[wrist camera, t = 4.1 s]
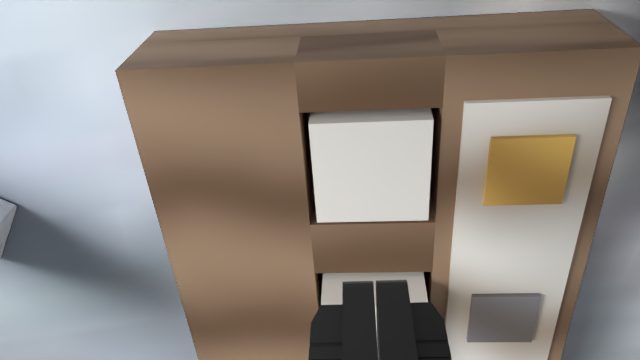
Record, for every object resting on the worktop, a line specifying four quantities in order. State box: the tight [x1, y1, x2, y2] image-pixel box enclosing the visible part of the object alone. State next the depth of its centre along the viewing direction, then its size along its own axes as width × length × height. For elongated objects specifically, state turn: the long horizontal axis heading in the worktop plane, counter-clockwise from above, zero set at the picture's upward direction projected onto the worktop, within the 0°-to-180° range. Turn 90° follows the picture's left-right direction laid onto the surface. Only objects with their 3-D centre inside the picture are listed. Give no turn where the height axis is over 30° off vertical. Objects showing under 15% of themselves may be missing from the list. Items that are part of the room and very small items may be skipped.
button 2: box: [308, 108, 434, 223], centre depth 19 cm, size 4×4×2 cm
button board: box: [115, 9, 640, 360], centre depth 24 cm, size 22×16×4 cm
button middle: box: [321, 272, 428, 347], centre depth 22 cm, size 4×4×2 cm
